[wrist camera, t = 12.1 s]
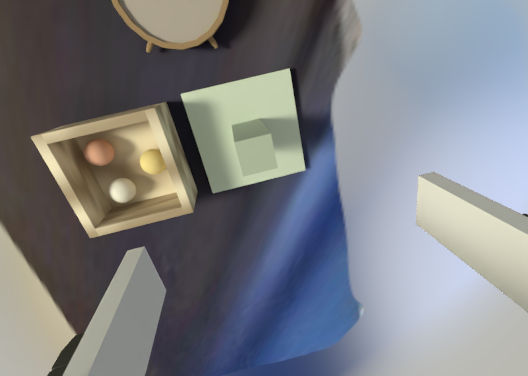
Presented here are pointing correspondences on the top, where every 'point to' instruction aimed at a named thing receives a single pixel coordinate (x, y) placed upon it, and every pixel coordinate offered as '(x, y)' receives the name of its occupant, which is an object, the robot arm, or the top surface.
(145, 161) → the ball mustard
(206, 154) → the lid
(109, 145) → the ball terracotta
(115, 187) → the ball cream
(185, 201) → the box
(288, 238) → the top surface
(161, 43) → the alarm clock
